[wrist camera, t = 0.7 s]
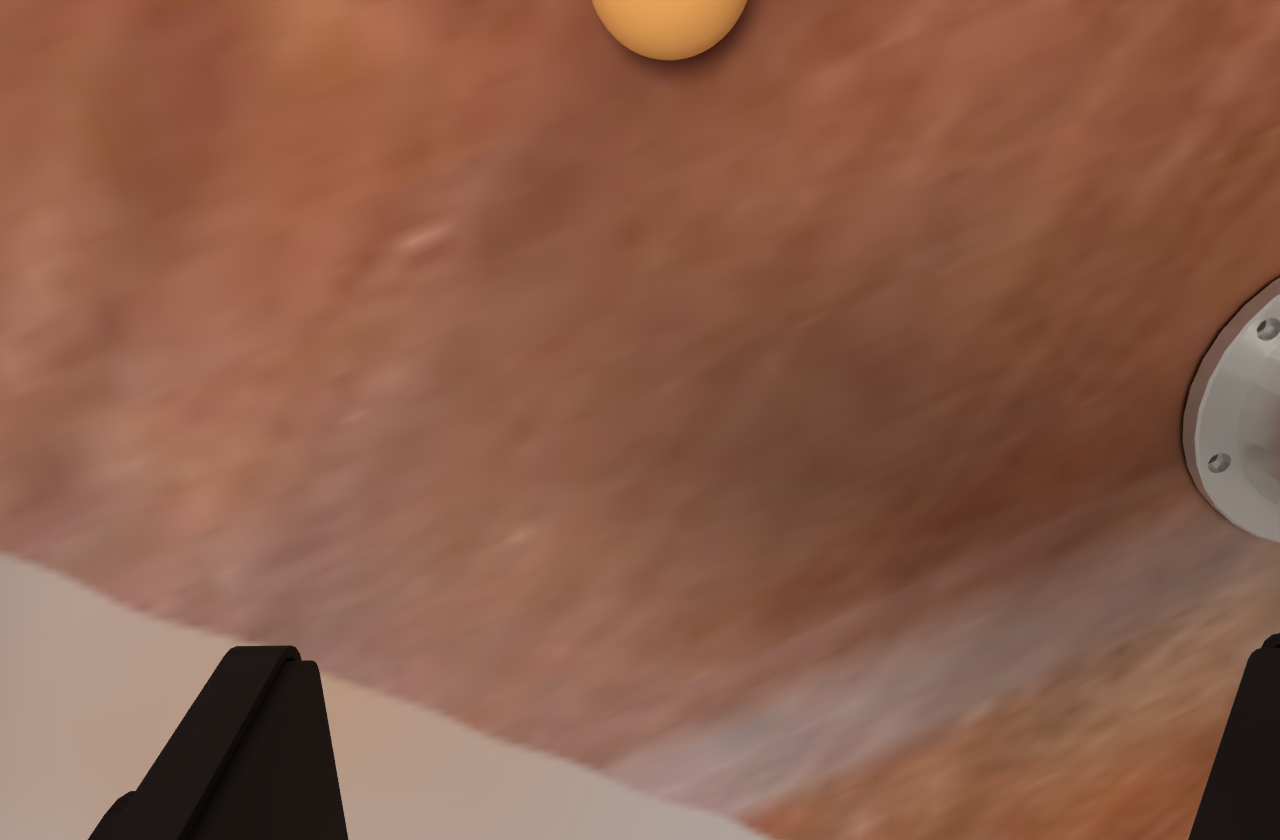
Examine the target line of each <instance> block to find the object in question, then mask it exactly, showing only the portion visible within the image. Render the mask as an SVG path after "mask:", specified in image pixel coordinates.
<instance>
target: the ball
mask: <svg viewBox="0 0 1280 840" xmlns="http://www.w3.org/2000/svg"><path fill="white" fill-rule="evenodd" d="M592 2H593V5H594V7H595V10H596V12H597V14H598V16H599V18H600V19H601V21H602V23H603V24H604V25H605V27H606V28H607V30H608V31H609V32H610V33H611V34H612V35H613V36H614V38H616V39H617V40H618V41H619V42H620V43H621V44H623V45H624V46H625V47H627V48H628V49H630V50H632V51H633V52H636V53H638V54H640V55H642V56H645V57H649V58H652V59H658V60H680V59H685V58H689V57H693V56H695V55H698V54H700V53H702V52H704V51H706V50H708V49H709V48H711V47H713V46H714V45H715V44H716V43H718V42H719V41H720V40H721V39H722V38H723V37H724V36H725V35H726V34H727V33H728V32H729V31H730V30H731V29H732V27H733V26H734V25H735V23H736V22H737V20H738V19H739V17H740V15H741V13H742V12H743V9H744V7H745V5H746V2H747V0H592Z"/></svg>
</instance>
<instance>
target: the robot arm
mask: <svg viewBox="0 0 1280 840" xmlns="http://www.w3.org/2000/svg"><path fill="white" fill-rule="evenodd" d="M1183 447H1184V452H1185V457H1186V463H1187V468H1188V470H1189V472H1190V474H1191V476H1192V478H1193V480H1194V483H1195V485H1196V487H1197V489H1198V490H1199V491H1200V493H1201V494H1202V495H1203V496H1204V498H1205V499H1206V500H1207V501H1208V502H1209V504H1210V505H1211V506H1212V507H1213V508H1214V509H1215V510H1217V511H1218V512H1219V513H1221V514H1222V515H1223V516H1224V517H1226V518H1227V519H1228V520H1229V521H1230V522H1232V523H1233V524H1234V525H1236V526H1238V527H1239V528H1241V529H1243V530H1245V531H1247V532H1248V533H1250V534H1252V535H1254V536H1255V537H1258V538H1262V539H1265V540H1268V541H1271V542H1275V543H1278V544H1280V278H1278V279H1277V280H1275V281H1273V282H1272V283H1271V284H1270V285H1268V286H1267V287H1266V288H1265V289H1264V290H1262V291H1261V292H1260V293H1259V294H1258V295H1256V296H1255V297H1254V298H1253V299H1252V300H1250V301H1249V302H1248V303H1247V304H1246V305H1245V306H1244V307H1243V308H1242V309H1241V310H1240V311H1239V312H1238V313H1237V314H1236V316H1235V317H1234V318H1233V319H1232V320H1231V321H1230V322H1229V323H1228V324H1227V325H1226V327H1225V328H1224V329H1223V330H1222V331H1221V333H1220V334H1219V336H1218V337H1217V339H1216V340H1215V342H1214V343H1213V345H1212V346H1211V348H1210V349H1209V351H1208V352H1207V354H1206V355H1205V357H1204V358H1203V360H1202V363H1201V365H1200V367H1199V369H1198V372H1197V374H1196V376H1195V378H1194V381H1193V383H1192V385H1191V387H1190V392H1189V396H1188V400H1187V404H1186V408H1185V412H1184V420H1183ZM88 840H348V835H347V829H346V823H345V818H344V812H343V806H342V800H341V795H340V788H339V782H338V777H337V771H336V765H335V759H334V753H333V748H332V742H331V736H330V730H329V724H328V719H327V713H326V707H325V702H324V696H323V689H322V684H321V678H320V672H319V669H318V666H317V664H316V662H314V661H302V660H301V656H300V653H299V652H298V650H297V648H296V647H293V646H236V647H234V648H231V649H230V650H229V651H228V652H227V653H226V654H225V656H224V657H223V659H222V660H221V662H220V663H219V665H218V666H217V668H216V669H215V671H214V672H213V674H212V676H211V677H210V679H209V680H208V681H207V683H206V684H205V686H204V688H203V689H202V691H201V692H200V694H199V695H198V697H197V698H196V700H195V701H194V703H193V704H192V706H191V707H190V709H189V710H188V712H187V713H186V715H185V717H184V718H183V720H182V721H181V723H180V724H179V726H178V727H177V729H176V730H175V732H174V733H173V735H172V736H171V738H170V739H169V741H168V743H167V744H166V746H165V747H164V749H163V750H162V752H161V753H160V755H159V756H158V758H157V759H156V761H155V763H154V764H153V765H152V767H151V768H150V770H149V771H148V773H147V775H146V776H145V778H144V779H143V781H142V782H141V784H140V785H139V787H138V788H137V790H136V791H130V792H128V793H127V794H125V795H124V796H122V797H120V798H119V799H117V801H116V802H115V803H114V804H113V805H112V807H111V808H110V809H109V810H108V811H107V812H106V814H105V815H104V816H103V818H102V819H101V821H100V822H99V824H98V825H97V827H96V828H95V830H94V831H93V833H92V834H91V836H90V837H89V839H88ZM1188 840H1280V633H1278V634H1274V635H1271V636H1270V637H1269V638H1268V639H1267V640H1265V642H1264V644H1263V646H1262V647H1261V648H1260V649H1257V650H1255V651H1254V652H1253V653H1252V654H1251V655H1250V657H1249V659H1248V662H1247V665H1246V668H1245V671H1244V674H1243V677H1242V680H1241V683H1240V686H1239V689H1238V692H1237V695H1236V698H1235V701H1234V704H1233V707H1232V710H1231V713H1230V716H1229V719H1228V722H1227V725H1226V728H1225V731H1224V734H1223V737H1222V740H1221V743H1220V746H1219V749H1218V752H1217V755H1216V758H1215V761H1214V764H1213V767H1212V770H1211V773H1210V776H1209V779H1208V782H1207V785H1206V788H1205V791H1204V794H1203V797H1202V800H1201V803H1200V806H1199V809H1198V812H1197V815H1196V818H1195V821H1194V824H1193V827H1192V830H1191V833H1190V836H1189V839H1188Z"/></svg>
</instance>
